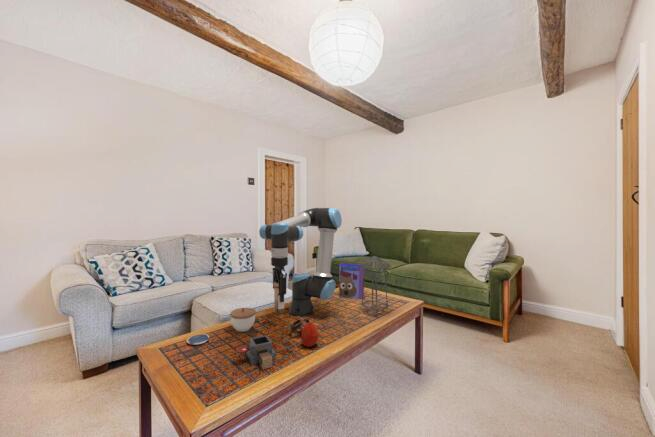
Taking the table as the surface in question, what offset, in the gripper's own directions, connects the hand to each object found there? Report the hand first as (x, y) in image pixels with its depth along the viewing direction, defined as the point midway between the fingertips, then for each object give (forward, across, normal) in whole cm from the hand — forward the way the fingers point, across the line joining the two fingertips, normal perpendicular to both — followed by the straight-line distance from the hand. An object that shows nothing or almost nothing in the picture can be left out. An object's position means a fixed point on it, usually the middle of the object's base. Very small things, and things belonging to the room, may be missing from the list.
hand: (279, 306), depth 128 cm
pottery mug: (+19, -7, +14) cm, 24 cm away
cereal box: (+19, -43, +69) cm, 83 cm away
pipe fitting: (+3, 0, 0) cm, 3 cm away
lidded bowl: (+18, -25, -11) cm, 33 cm away
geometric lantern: (+19, -14, +66) cm, 70 cm away
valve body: (+18, +6, -13) cm, 23 cm away
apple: (+18, +6, +13) cm, 23 cm away
